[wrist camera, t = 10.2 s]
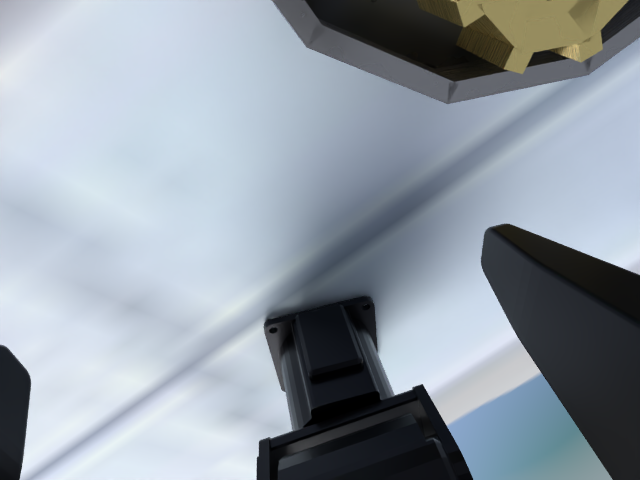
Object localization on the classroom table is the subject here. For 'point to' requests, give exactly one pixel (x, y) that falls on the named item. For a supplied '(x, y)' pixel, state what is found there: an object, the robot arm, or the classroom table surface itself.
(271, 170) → the classroom table surface
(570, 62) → the tray
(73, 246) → the classroom table surface
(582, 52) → the planet gear
